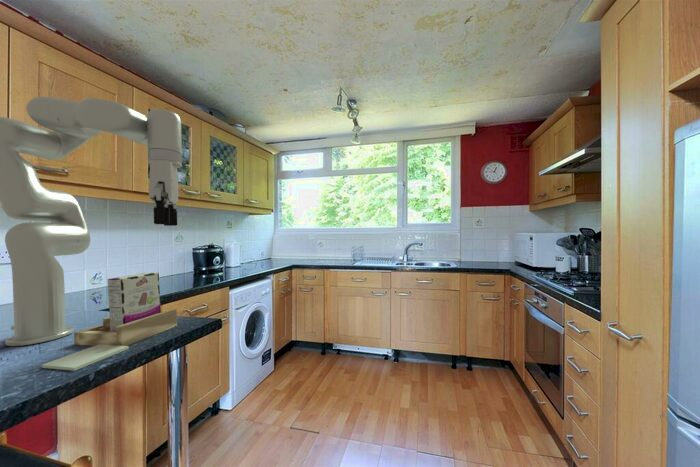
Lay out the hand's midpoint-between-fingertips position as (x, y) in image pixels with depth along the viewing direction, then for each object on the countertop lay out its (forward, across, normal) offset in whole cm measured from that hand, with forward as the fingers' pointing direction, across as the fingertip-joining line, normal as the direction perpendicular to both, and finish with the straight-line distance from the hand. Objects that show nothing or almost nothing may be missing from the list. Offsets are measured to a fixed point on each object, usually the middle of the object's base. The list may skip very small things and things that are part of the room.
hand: (166, 224), depth 75 cm
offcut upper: (+27, -10, -14) cm, 32 cm away
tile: (+30, +7, -14) cm, 34 cm away
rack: (+30, -8, -11) cm, 33 cm away
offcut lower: (+30, -10, -13) cm, 35 cm away
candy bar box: (+30, -6, -9) cm, 32 cm away
